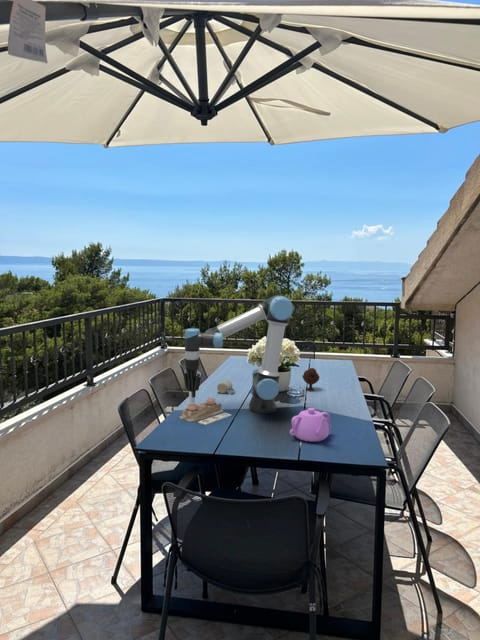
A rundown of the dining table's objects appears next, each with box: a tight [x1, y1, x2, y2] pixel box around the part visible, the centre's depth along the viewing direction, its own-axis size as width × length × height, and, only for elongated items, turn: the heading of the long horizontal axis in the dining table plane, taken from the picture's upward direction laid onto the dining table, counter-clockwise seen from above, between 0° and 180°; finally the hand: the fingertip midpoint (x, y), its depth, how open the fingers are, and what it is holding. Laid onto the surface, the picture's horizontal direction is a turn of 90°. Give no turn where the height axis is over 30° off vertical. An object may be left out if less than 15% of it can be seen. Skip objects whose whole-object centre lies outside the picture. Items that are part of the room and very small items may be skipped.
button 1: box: [187, 403, 198, 412], centre depth 240 cm, size 5×5×4 cm
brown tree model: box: [302, 367, 320, 392], centre depth 299 cm, size 11×11×15 cm
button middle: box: [196, 403, 206, 409], centre depth 246 cm, size 5×5×4 cm
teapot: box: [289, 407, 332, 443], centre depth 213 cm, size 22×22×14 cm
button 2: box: [206, 397, 216, 406], centre depth 251 cm, size 5×5×4 cm
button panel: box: [178, 401, 224, 423], centre depth 246 cm, size 10×23×4 cm, turn 140°
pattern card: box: [197, 412, 232, 426], centre depth 240 cm, size 5×20×1 cm, turn 140°
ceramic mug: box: [216, 379, 236, 395], centre depth 291 cm, size 11×8×8 cm
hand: (191, 403), depth 240 cm, fingers closed
